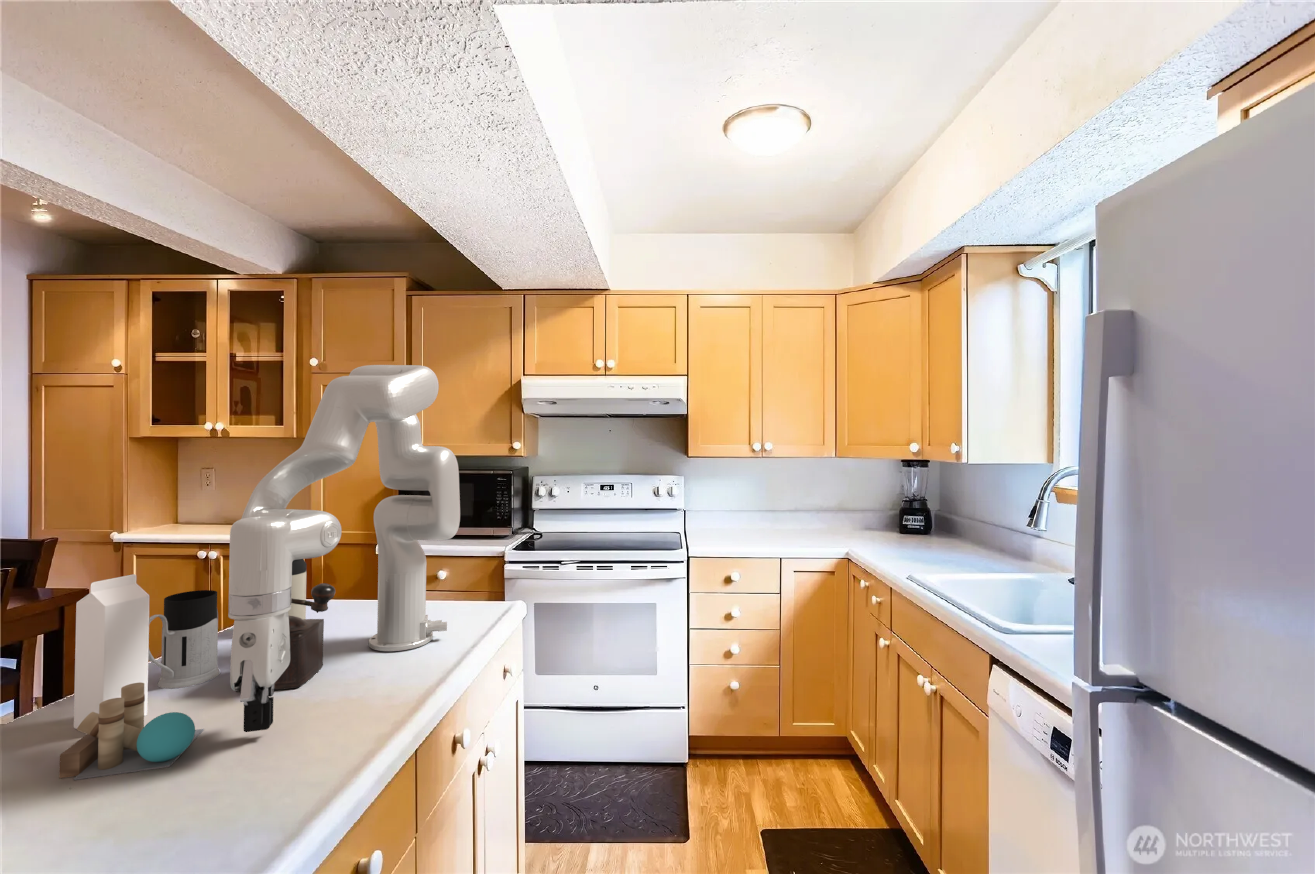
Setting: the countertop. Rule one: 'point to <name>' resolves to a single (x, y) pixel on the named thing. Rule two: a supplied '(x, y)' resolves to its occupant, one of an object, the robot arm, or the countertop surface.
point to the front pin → (92, 729)
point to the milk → (110, 643)
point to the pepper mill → (306, 641)
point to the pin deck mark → (129, 764)
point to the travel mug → (298, 588)
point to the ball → (165, 737)
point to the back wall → (78, 756)
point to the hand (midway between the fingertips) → (258, 727)
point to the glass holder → (188, 639)
